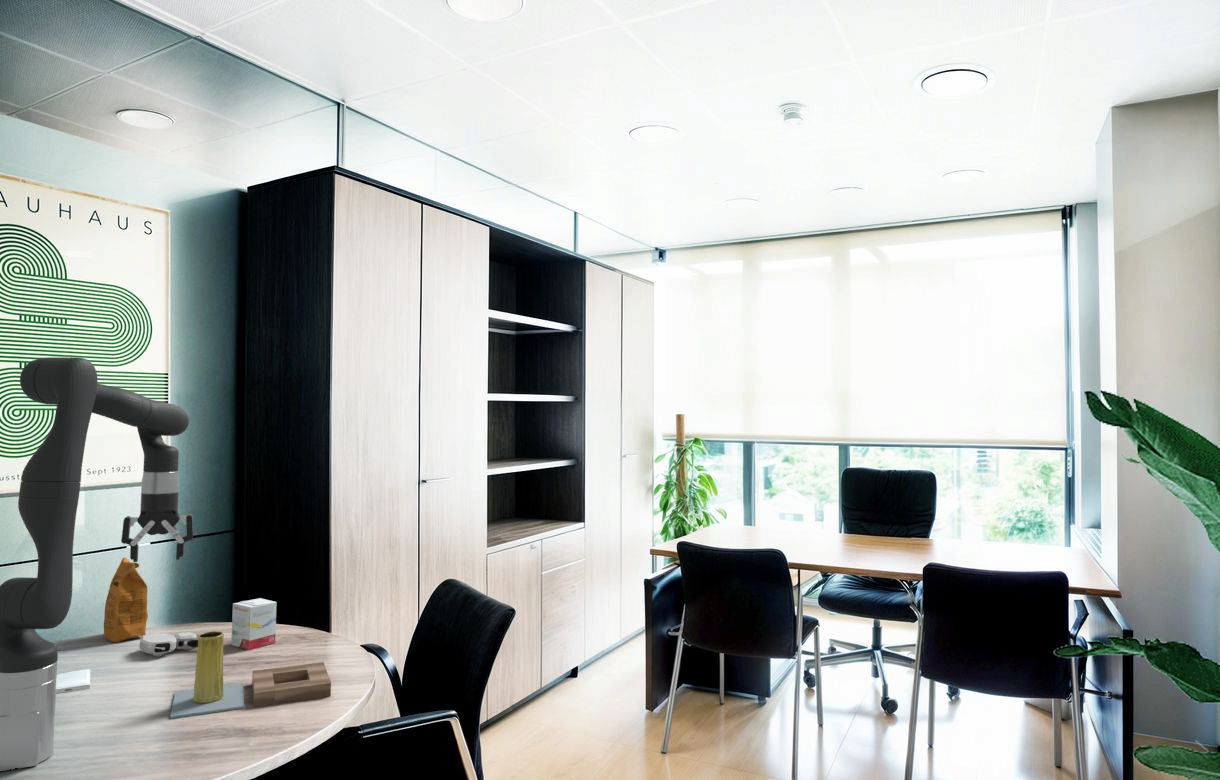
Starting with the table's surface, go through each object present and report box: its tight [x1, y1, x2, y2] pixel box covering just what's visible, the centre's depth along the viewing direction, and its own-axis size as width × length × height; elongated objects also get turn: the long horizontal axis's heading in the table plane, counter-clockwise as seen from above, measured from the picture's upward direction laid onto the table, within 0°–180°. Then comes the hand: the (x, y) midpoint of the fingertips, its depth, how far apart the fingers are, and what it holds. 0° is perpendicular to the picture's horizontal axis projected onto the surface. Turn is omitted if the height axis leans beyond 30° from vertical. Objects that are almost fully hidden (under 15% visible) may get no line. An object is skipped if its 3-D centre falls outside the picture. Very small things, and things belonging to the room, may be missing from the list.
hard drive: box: [56, 668, 91, 695], centre depth 177 cm, size 2×8×12 cm
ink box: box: [230, 597, 277, 651], centre depth 210 cm, size 9×9×12 cm
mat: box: [169, 682, 245, 720], centre depth 167 cm, size 16×14×1 cm
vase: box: [193, 630, 225, 703], centre depth 168 cm, size 6×6×14 cm
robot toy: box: [137, 631, 200, 657], centre depth 202 cm, size 12×4×15 cm
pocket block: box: [251, 661, 332, 708], centre depth 175 cm, size 16×16×3 cm
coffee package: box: [103, 557, 149, 643], centre depth 214 cm, size 10×12×22 cm
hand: (157, 560), depth 174 cm, fingers open, 8 cm apart
